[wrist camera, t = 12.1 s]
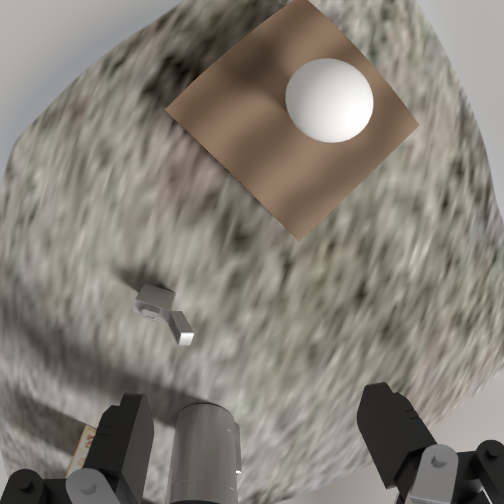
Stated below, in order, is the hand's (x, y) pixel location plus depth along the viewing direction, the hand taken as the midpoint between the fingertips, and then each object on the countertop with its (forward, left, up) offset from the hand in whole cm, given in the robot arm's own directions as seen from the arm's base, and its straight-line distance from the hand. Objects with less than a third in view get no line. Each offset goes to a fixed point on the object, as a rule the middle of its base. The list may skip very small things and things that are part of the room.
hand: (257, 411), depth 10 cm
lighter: (0, +12, -27) cm, 29 cm away
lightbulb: (+5, -13, -22) cm, 26 cm away
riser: (+5, -13, -27) cm, 30 cm away
